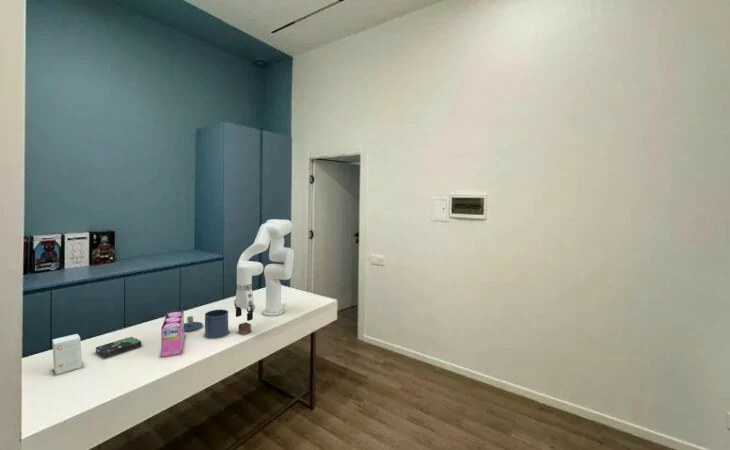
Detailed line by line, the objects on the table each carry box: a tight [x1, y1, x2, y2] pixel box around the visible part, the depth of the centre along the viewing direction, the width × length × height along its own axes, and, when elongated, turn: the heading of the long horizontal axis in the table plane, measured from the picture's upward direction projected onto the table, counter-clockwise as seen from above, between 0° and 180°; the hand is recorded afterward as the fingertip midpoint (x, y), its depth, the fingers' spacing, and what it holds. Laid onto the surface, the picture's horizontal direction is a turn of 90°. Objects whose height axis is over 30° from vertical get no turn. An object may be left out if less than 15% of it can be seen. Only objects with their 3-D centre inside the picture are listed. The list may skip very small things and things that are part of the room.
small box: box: [51, 333, 83, 375], centre depth 133 cm, size 8×6×13 cm
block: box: [238, 321, 252, 336], centre depth 173 cm, size 4×4×4 cm
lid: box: [184, 315, 204, 332], centre depth 177 cm, size 12×12×6 cm
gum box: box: [160, 310, 185, 358], centre depth 156 cm, size 24×8×14 cm, turn 26°
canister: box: [204, 308, 229, 339], centre depth 170 cm, size 11×11×12 cm
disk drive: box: [95, 336, 142, 359], centre depth 151 cm, size 10×3×15 cm
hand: (244, 318), depth 172 cm, fingers open, 9 cm apart
